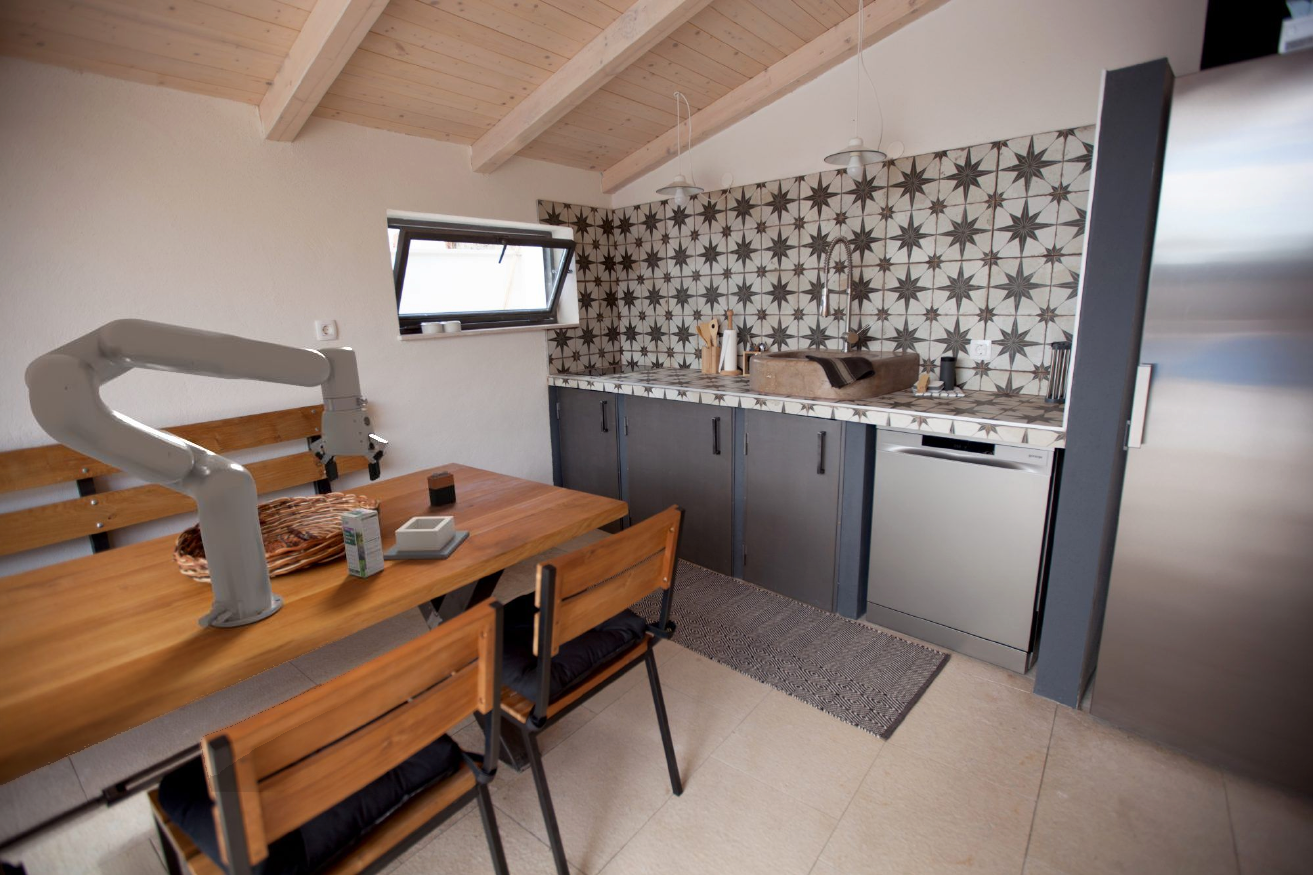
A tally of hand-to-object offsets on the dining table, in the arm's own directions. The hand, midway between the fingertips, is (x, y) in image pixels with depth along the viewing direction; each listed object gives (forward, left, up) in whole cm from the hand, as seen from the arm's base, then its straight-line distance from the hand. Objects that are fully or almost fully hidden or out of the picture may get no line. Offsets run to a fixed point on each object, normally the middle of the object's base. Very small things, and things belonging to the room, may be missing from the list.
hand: (354, 479), depth 136 cm
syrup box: (0, 0, -22) cm, 22 cm away
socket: (+15, -8, -22) cm, 28 cm away
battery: (+50, +2, -22) cm, 55 cm away
